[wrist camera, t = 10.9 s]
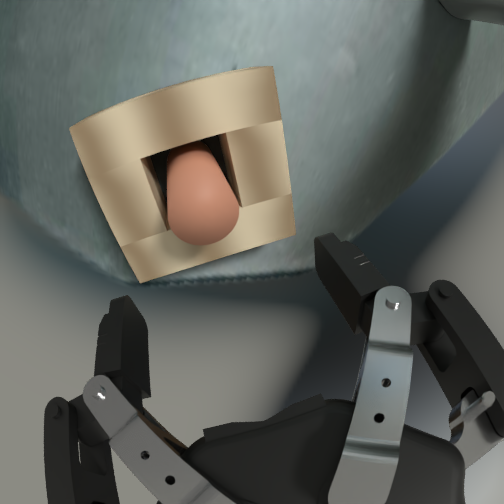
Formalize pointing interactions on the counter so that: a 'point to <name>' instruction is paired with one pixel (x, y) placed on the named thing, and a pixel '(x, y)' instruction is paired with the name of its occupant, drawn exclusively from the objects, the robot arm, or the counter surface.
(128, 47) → the counter surface
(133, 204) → the socket block
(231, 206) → the peg
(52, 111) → the counter surface
